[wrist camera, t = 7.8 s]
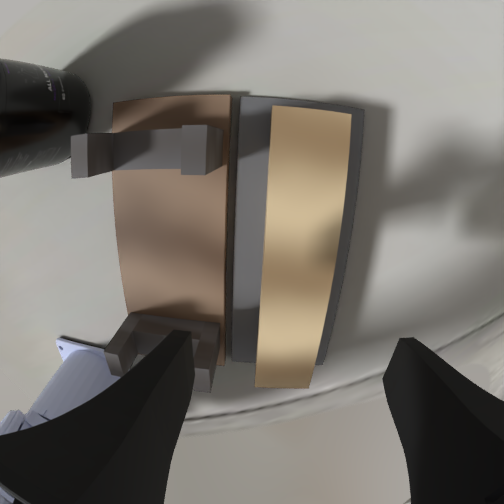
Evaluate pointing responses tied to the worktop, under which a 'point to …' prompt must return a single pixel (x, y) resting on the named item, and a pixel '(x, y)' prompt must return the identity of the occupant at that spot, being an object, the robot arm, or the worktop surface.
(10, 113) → the supplement bottle
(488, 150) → the worktop surface
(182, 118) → the stand
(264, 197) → the mat
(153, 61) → the worktop surface
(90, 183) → the worktop surface
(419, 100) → the worktop surface
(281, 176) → the rail
